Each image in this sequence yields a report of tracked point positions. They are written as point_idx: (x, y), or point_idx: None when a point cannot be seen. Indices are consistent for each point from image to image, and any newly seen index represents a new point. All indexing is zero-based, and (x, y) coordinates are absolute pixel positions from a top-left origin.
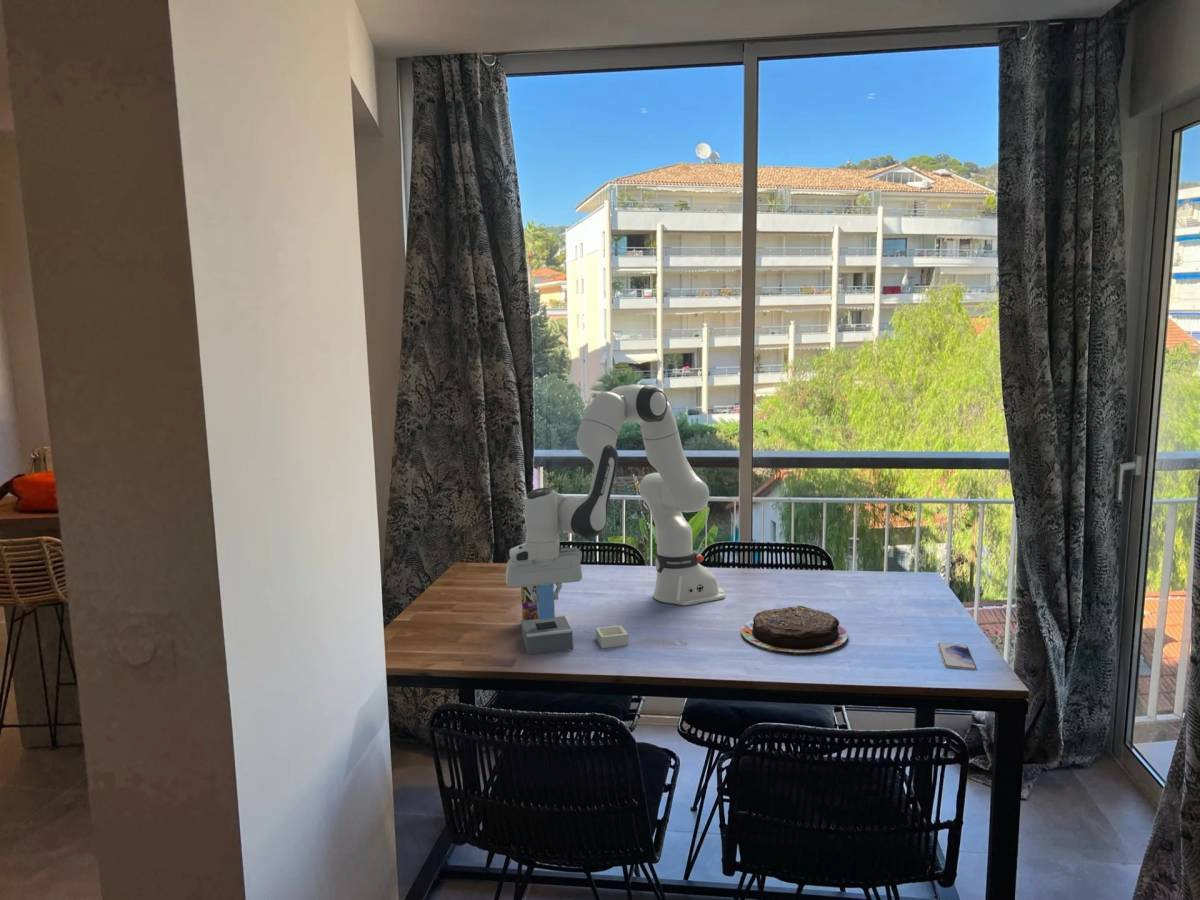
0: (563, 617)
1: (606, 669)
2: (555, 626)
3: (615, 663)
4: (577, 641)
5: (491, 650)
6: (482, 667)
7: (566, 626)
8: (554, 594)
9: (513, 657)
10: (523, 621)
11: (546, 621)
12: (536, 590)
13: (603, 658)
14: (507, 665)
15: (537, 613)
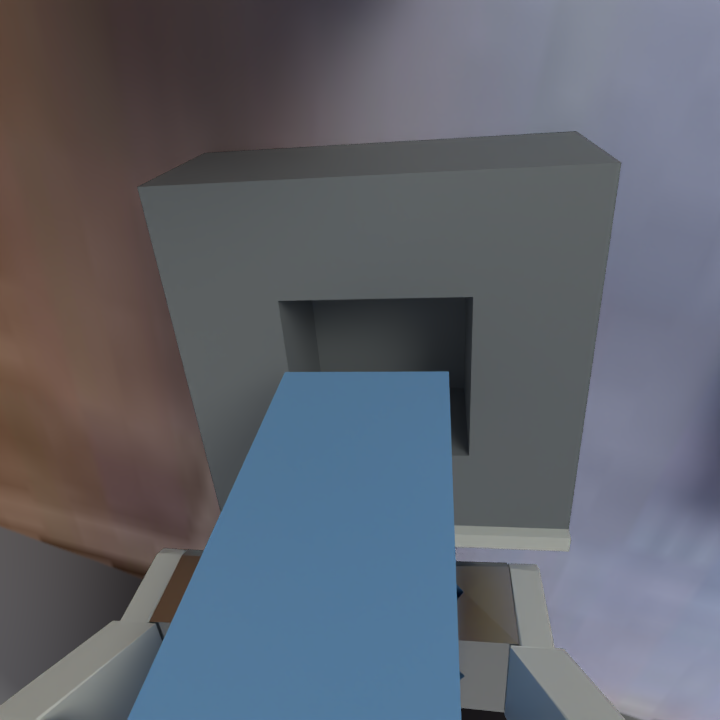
0: (593, 210)
1: (629, 676)
2: (470, 318)
3: (702, 645)
4: (617, 330)
5: (30, 325)
6: (49, 514)
7: (549, 447)
8: (480, 700)
9: (183, 452)
10: (161, 220)
11: (391, 281)
12: (177, 619)
13: (670, 588)
14: (166, 526)
15: (281, 382)
